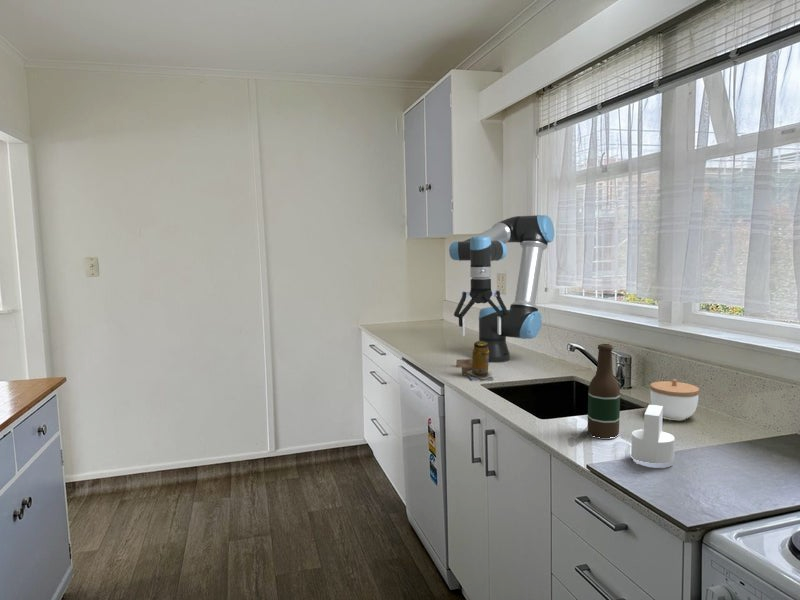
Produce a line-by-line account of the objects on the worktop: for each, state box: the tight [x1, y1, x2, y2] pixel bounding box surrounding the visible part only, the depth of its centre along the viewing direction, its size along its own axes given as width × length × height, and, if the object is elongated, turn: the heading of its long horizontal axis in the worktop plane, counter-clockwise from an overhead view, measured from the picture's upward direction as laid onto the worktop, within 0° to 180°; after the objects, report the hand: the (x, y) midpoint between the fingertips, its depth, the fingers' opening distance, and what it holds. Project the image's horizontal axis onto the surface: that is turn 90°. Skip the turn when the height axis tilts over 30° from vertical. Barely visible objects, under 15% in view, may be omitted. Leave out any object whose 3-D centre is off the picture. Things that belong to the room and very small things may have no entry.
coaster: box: [467, 374, 494, 381], centre depth 209 cm, size 8×8×1 cm
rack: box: [456, 358, 472, 376], centre depth 222 cm, size 10×15×3 cm, turn 3°
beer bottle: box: [587, 343, 621, 438], centre depth 144 cm, size 8×8×24 cm
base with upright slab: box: [630, 404, 676, 463], centre depth 127 cm, size 9×9×12 cm
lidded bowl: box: [649, 378, 700, 419], centre depth 159 cm, size 13×13×11 cm
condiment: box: [467, 340, 497, 379], centre depth 207 cm, size 7×8×12 cm
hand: (481, 334), depth 208 cm, fingers open, 13 cm apart
